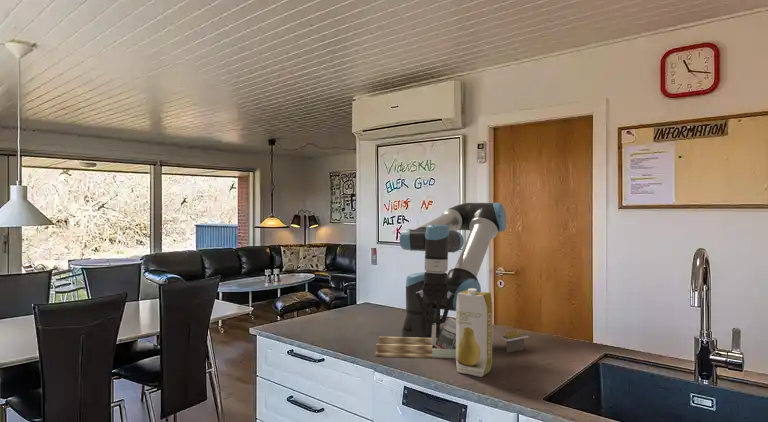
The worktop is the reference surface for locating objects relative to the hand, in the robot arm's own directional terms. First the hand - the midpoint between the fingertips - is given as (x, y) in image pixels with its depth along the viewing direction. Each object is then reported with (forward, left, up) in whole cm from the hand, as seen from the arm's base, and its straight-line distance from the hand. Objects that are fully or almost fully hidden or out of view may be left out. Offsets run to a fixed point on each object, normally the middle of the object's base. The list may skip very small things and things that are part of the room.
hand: (433, 343), depth 162 cm
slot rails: (+9, -1, -3) cm, 10 cm away
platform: (-27, -4, -3) cm, 27 cm away
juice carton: (-11, +19, -3) cm, 23 cm away
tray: (-7, -1, -3) cm, 7 cm away
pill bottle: (-3, 0, -2) cm, 3 cm away
